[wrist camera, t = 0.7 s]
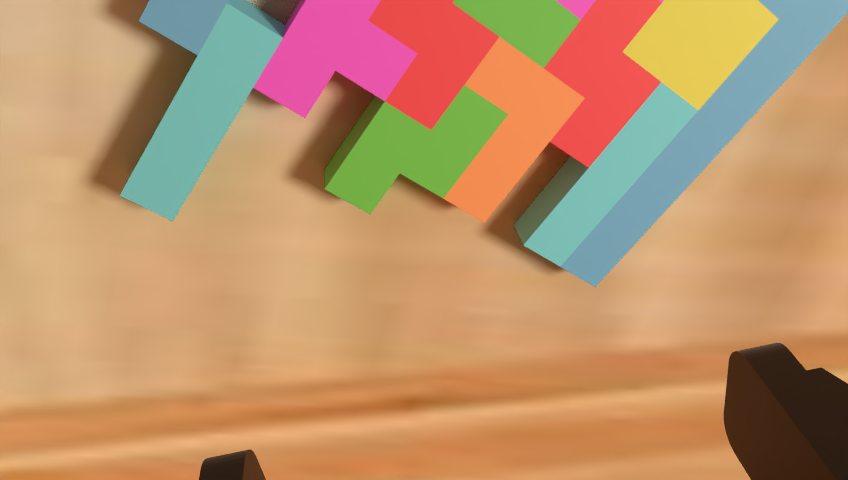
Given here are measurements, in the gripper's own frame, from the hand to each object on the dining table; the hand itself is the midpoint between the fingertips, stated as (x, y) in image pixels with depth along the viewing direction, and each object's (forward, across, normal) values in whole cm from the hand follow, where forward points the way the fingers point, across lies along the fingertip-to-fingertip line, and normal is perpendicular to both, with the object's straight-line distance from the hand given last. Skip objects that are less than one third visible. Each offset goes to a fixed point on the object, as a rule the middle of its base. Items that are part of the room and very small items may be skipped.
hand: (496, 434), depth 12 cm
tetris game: (+28, -3, +4) cm, 29 cm away
